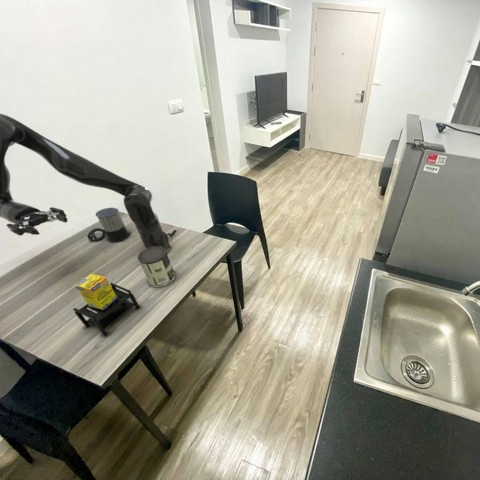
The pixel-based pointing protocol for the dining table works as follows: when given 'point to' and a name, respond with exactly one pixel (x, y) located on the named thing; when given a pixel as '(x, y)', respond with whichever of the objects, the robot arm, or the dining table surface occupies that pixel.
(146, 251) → the coffee can
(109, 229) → the milk frother
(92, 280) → the supplement box
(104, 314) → the rack
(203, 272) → the dining table surface
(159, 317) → the dining table surface
